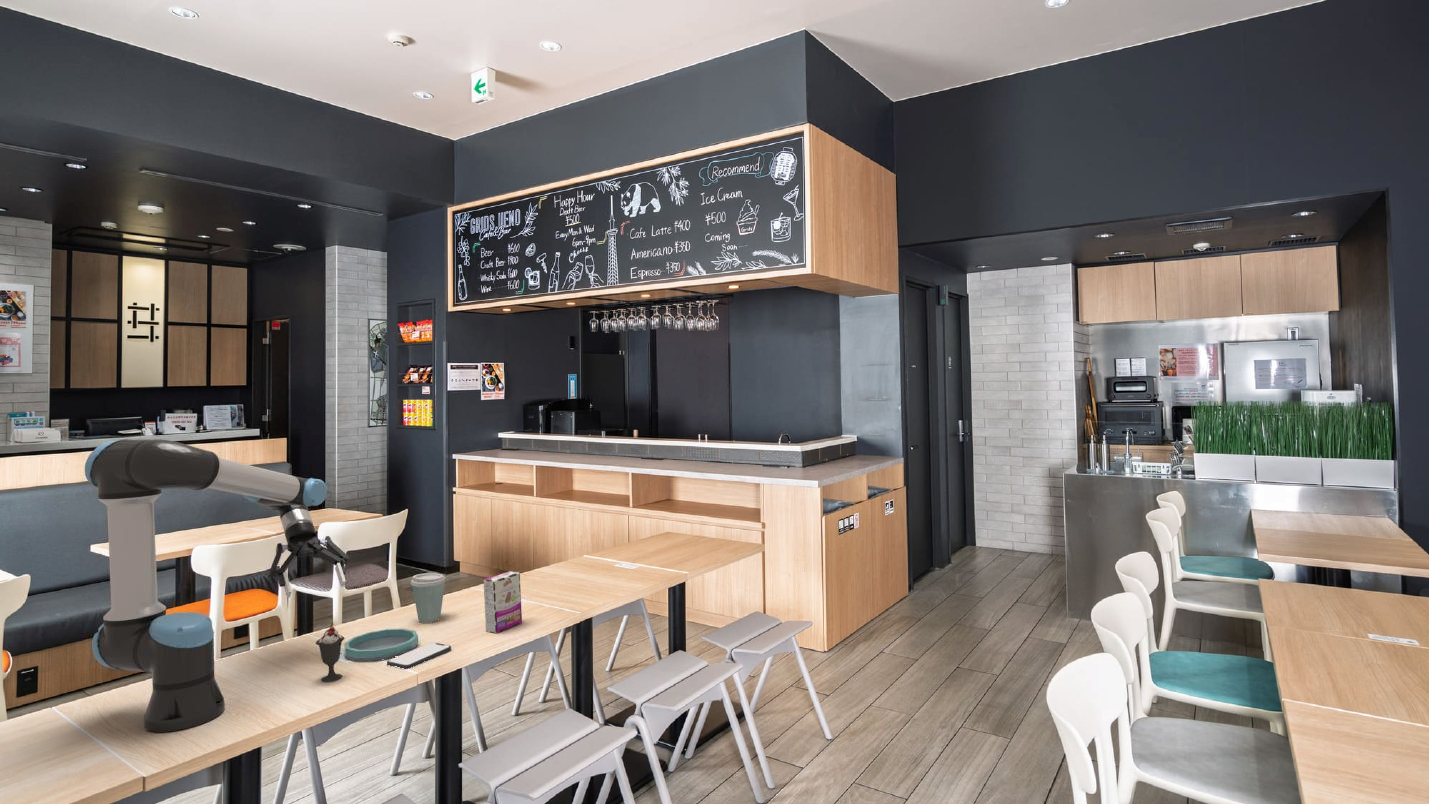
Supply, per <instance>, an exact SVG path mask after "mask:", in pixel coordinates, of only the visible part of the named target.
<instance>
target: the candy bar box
mask: <svg viewBox="0 0 1429 804" xmlns="http://www.w3.org/2000/svg"><path fill="white" fill-rule="evenodd" d="M483 592H484V593H483V594H484V595H483V596H484V613H485V615H484V617H485V630H486V631H485V632H487V631H490V632H489V633H492V632H494V633H493V634H499V633H501V632H503V630H504V631H506V630H509V629H510V628H513V627H512V626H514V627H516V626H518V625H521V624H523V615H522V614H523V613H522V612H523V610H522V596H521V595H522V593H521V573H520V572H518V571H511V570H510V571H507V572H504V573H501V574H497V575H495V576H494V575H493V576H491V577H488V578H485V579H483ZM505 629H506V630H505ZM500 631H501V632H500ZM498 632H499V633H498Z"/></svg>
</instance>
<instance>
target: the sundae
mask: <svg viewBox="0 0 1429 804" xmlns="http://www.w3.org/2000/svg"><path fill="white" fill-rule="evenodd" d="M345 639H346V638H345V637H344V636H342V635H341V634H340V633H339V631H338V630H337V629H336V628H335V627H334V623H333V622H331V624H330V627H329V628H328V629H327V630H325V631H324V633H323V636H322V637H321V638H319V639H317V640H316V641H315V645H318V647H319V650H320V652H319V653H320V656H321V661H322V663H323V664H324V665H326V666H327V667H328V672H327V674H326V675H325V676H323V677H321V679H320V681H321V682H322V683H323V682H324V683H329V682H330V681H331V682H335V681H338V680H340V679H342V677H343V675H342V674H340V673H336V672H335V664H337V663H338V661H339V660H340V657H341V652H342V651H341V648H342V642H343V641H344V640H345Z"/></svg>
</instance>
